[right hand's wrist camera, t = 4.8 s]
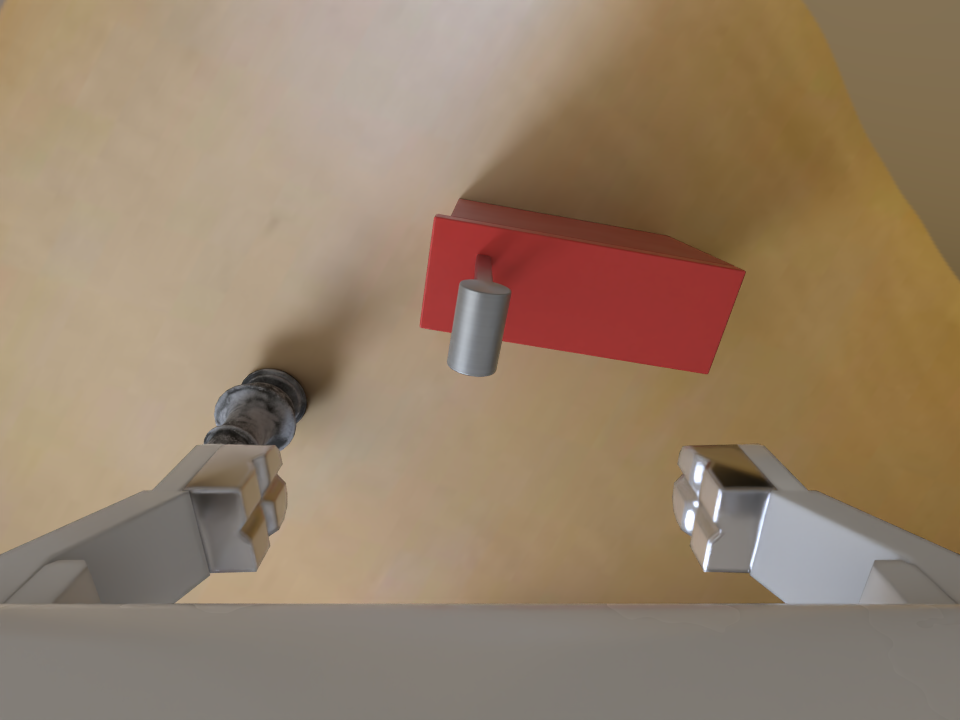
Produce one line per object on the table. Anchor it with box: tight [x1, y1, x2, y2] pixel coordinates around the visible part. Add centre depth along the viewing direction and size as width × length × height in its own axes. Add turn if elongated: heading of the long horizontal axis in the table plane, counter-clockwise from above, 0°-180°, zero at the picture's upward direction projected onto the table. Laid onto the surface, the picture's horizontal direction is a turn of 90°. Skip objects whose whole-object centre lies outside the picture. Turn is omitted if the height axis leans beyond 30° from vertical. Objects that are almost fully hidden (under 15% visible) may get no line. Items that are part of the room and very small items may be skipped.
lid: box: [420, 214, 746, 377], centre depth 23 cm, size 16×6×9 cm, turn 80°
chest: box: [451, 199, 734, 266], centre depth 32 cm, size 15×6×10 cm, turn 80°
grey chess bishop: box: [204, 369, 307, 451], centre depth 35 cm, size 6×6×12 cm
